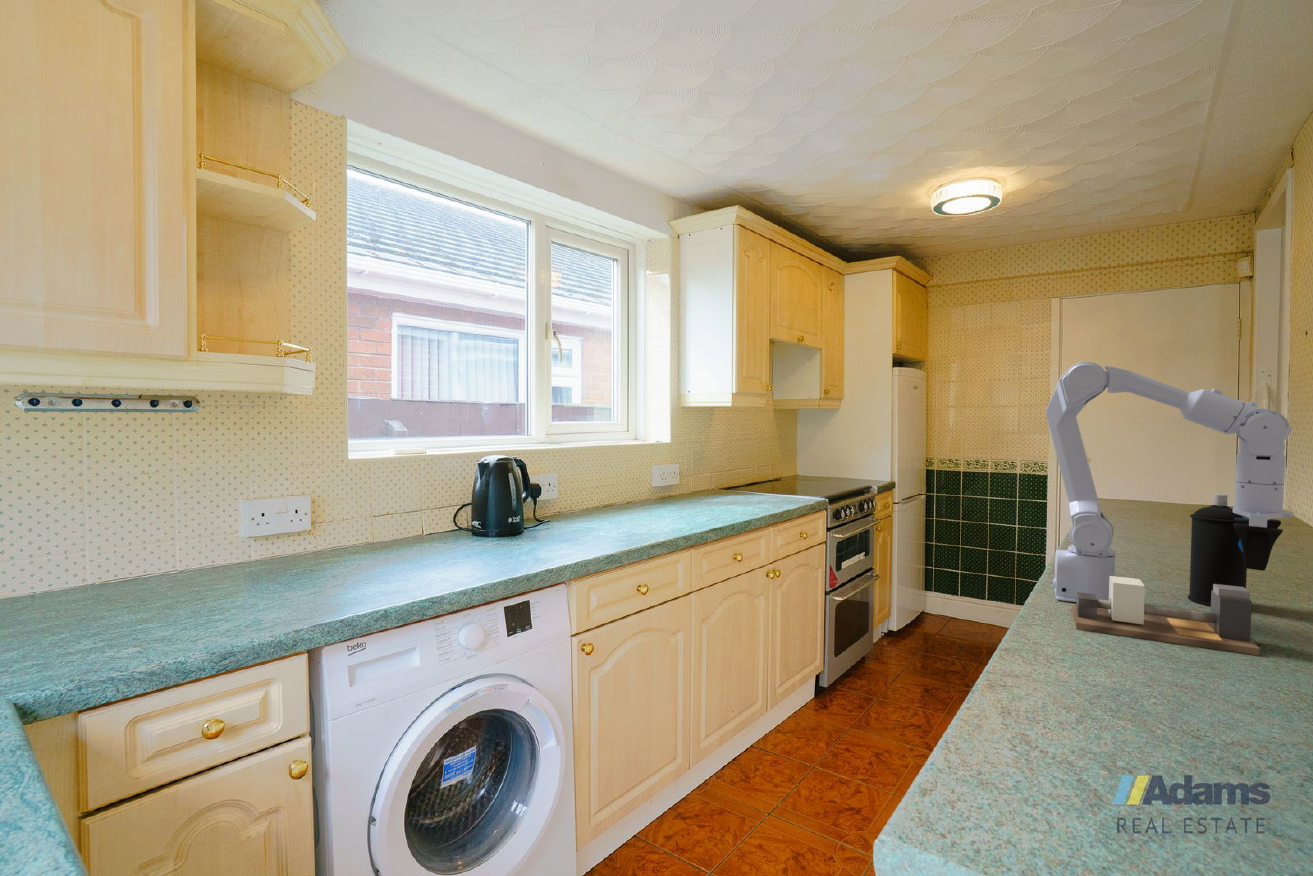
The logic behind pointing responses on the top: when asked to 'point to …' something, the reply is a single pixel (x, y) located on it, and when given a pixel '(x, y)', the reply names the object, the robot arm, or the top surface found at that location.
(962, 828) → the top surface
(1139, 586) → the sleeve
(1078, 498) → the robot arm
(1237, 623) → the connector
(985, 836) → the top surface
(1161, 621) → the rail board
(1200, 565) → the aerosol can
